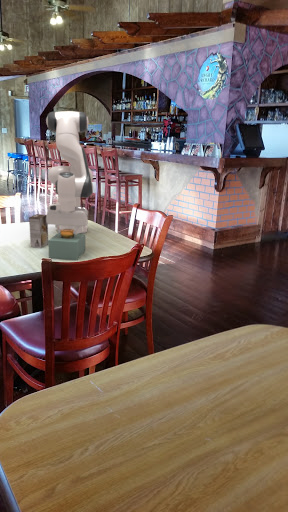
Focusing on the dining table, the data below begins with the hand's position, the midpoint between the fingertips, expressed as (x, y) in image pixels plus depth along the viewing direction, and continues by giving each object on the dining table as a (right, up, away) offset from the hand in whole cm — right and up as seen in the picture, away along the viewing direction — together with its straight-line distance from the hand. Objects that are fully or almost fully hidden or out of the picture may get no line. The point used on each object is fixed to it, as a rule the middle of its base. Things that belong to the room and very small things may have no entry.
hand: (67, 234), depth 207 cm
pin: (0, -8, +3) cm, 9 cm away
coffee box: (-18, -5, +16) cm, 25 cm away
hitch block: (0, -10, +3) cm, 11 cm away
